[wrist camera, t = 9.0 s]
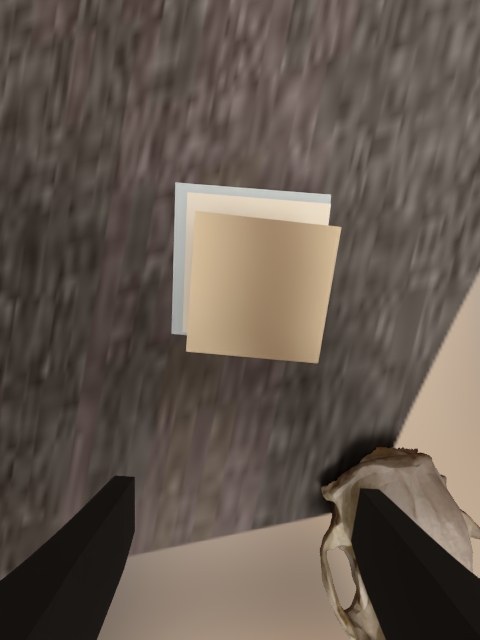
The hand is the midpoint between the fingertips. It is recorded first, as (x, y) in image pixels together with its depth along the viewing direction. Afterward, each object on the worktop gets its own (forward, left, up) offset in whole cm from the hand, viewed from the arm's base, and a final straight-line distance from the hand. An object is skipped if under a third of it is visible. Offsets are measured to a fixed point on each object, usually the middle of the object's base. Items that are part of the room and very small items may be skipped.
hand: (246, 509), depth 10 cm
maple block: (0, +7, -7) cm, 10 cm away
